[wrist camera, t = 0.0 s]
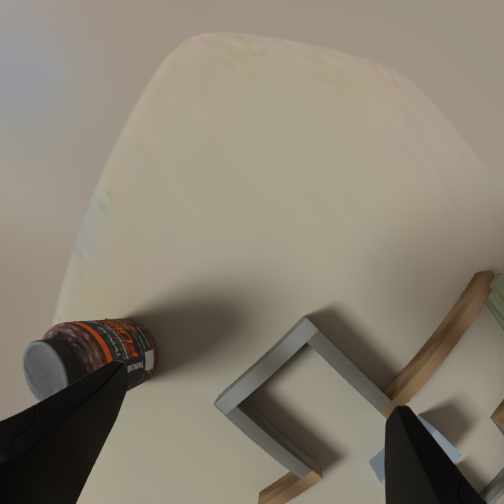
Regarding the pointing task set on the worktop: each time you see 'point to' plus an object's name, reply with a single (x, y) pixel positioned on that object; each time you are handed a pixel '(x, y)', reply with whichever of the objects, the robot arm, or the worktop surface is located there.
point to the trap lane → (355, 386)
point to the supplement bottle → (87, 354)
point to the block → (453, 454)
